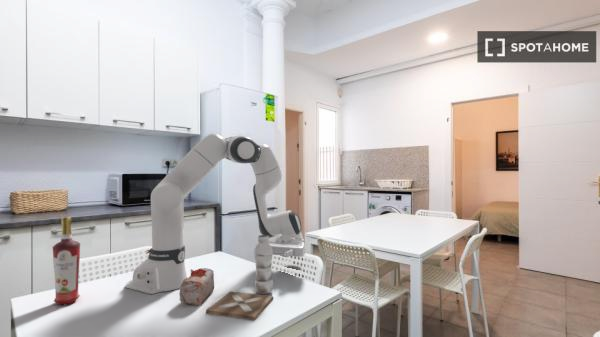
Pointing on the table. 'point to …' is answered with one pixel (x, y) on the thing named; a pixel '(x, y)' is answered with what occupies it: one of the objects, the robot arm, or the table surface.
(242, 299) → the brown board with cross
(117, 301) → the table surface
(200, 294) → the food item
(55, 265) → the liquor
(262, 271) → the plastic bottle
